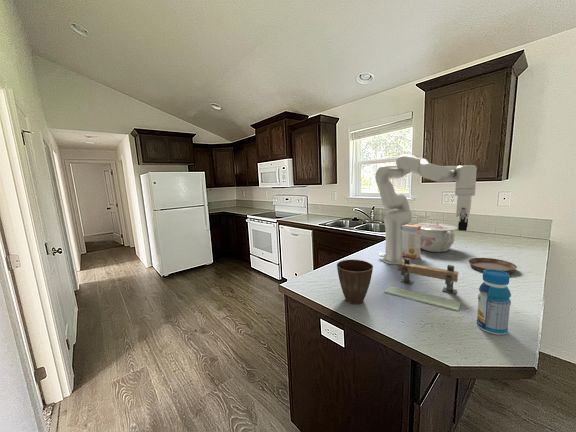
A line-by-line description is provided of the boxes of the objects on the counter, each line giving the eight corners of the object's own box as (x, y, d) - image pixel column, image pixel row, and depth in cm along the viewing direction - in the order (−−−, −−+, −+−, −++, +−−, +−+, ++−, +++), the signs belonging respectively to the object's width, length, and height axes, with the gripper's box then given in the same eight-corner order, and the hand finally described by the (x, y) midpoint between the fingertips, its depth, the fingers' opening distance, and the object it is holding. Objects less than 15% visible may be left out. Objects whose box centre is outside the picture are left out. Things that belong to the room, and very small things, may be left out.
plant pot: (378, 298, 108) (378, 263, 106) (363, 313, 97) (363, 274, 95) (347, 289, 118) (347, 257, 116) (330, 301, 107) (330, 266, 105)
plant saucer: (472, 273, 131) (473, 267, 131) (464, 261, 150) (464, 256, 149) (523, 278, 122) (524, 271, 122) (508, 264, 141) (508, 259, 140)
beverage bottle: (498, 338, 79) (504, 279, 76) (470, 325, 86) (474, 270, 83) (513, 331, 82) (519, 274, 79) (485, 319, 90) (489, 266, 87)
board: (384, 292, 113) (384, 291, 113) (389, 287, 119) (389, 286, 118) (458, 311, 95) (458, 309, 95) (460, 303, 101) (460, 302, 101)
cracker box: (420, 257, 160) (421, 225, 157) (416, 259, 156) (417, 226, 153) (399, 252, 171) (400, 223, 168) (394, 254, 167) (395, 224, 164)
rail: (397, 270, 120) (397, 263, 120) (399, 268, 123) (399, 261, 122) (456, 282, 105) (457, 274, 104) (457, 279, 107) (458, 271, 107)
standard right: (440, 295, 108) (441, 269, 106) (443, 288, 115) (445, 263, 113) (454, 298, 105) (455, 271, 103) (456, 291, 112) (458, 265, 110)
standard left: (397, 285, 120) (397, 262, 118) (402, 279, 126) (403, 257, 125) (408, 288, 116) (409, 264, 115) (413, 281, 123) (414, 258, 121)
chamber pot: (415, 243, 194) (416, 217, 191) (457, 247, 178) (459, 218, 175) (408, 252, 172) (409, 222, 169) (455, 258, 155) (457, 225, 153)
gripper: (456, 191, 123) (454, 224, 126) (453, 193, 110) (451, 231, 112) (475, 191, 119) (473, 226, 121) (474, 193, 105) (472, 232, 107)
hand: (462, 228), depth 116 cm, fingers open, 9 cm apart
